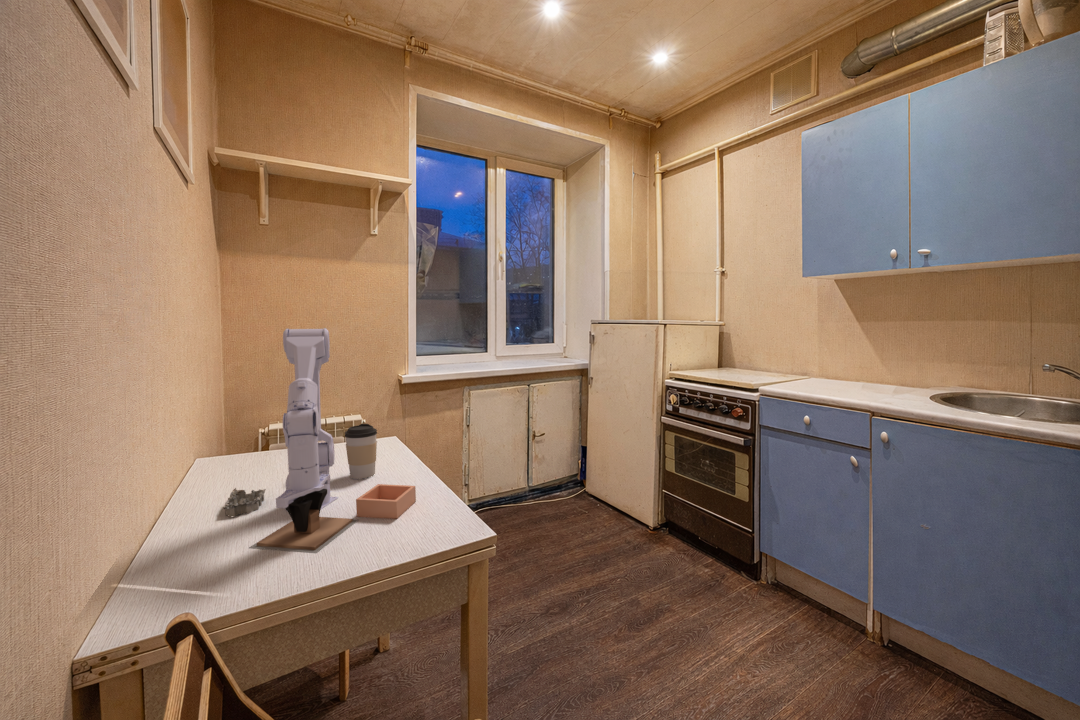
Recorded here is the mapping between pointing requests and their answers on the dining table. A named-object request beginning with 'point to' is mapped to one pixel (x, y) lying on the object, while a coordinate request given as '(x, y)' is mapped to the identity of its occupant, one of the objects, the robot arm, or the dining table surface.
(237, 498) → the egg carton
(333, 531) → the lid
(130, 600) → the dining table surface
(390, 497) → the open box
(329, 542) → the mat
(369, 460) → the coffee cup
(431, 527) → the dining table surface
